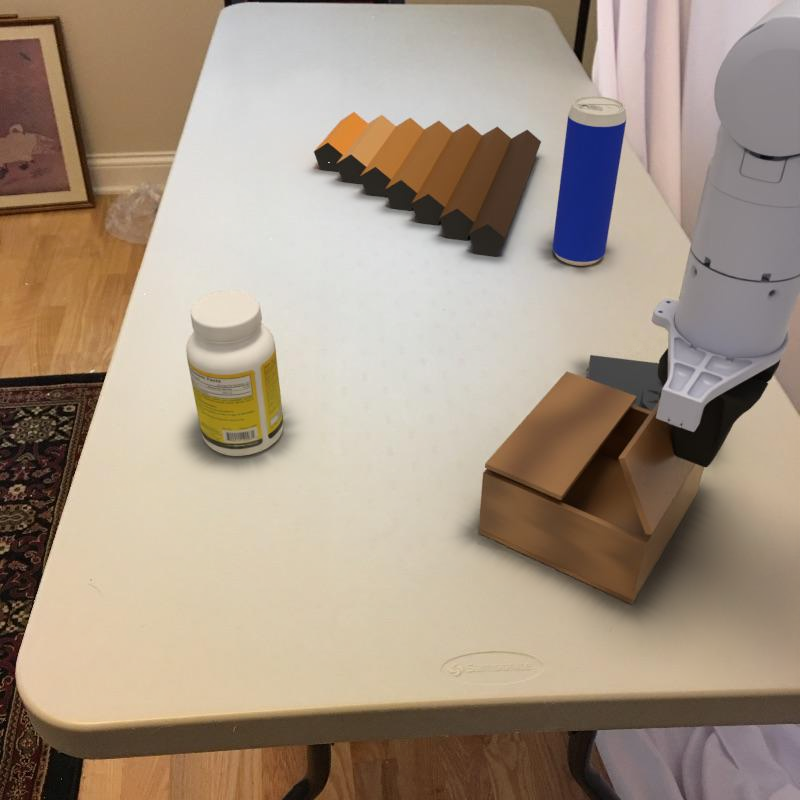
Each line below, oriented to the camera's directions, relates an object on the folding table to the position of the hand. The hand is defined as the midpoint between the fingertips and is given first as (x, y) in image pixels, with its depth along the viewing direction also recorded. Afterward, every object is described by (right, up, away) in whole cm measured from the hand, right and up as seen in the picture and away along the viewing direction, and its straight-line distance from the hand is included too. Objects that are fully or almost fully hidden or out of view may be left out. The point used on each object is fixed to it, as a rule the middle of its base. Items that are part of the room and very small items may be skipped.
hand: (694, 455), depth 54 cm
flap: (-1, +1, 0) cm, 2 cm away
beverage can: (0, +18, +36) cm, 40 cm away
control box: (+1, +3, +16) cm, 17 cm away
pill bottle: (-29, +1, +14) cm, 33 cm away
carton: (-5, -4, +7) cm, 10 cm away
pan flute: (-16, +27, +47) cm, 57 cm away
